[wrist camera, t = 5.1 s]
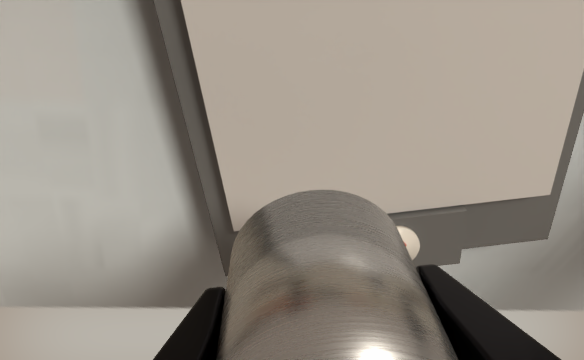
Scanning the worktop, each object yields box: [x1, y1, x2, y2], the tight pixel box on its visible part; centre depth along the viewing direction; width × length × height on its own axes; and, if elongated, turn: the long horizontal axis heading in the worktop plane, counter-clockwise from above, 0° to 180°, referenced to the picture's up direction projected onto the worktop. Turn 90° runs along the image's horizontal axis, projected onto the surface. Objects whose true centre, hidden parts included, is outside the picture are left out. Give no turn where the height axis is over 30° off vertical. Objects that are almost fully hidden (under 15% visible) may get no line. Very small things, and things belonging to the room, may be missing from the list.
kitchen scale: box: [153, 0, 584, 276], centre depth 14 cm, size 15×15×3 cm
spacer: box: [216, 190, 458, 360], centre depth 8 cm, size 4×4×5 cm
